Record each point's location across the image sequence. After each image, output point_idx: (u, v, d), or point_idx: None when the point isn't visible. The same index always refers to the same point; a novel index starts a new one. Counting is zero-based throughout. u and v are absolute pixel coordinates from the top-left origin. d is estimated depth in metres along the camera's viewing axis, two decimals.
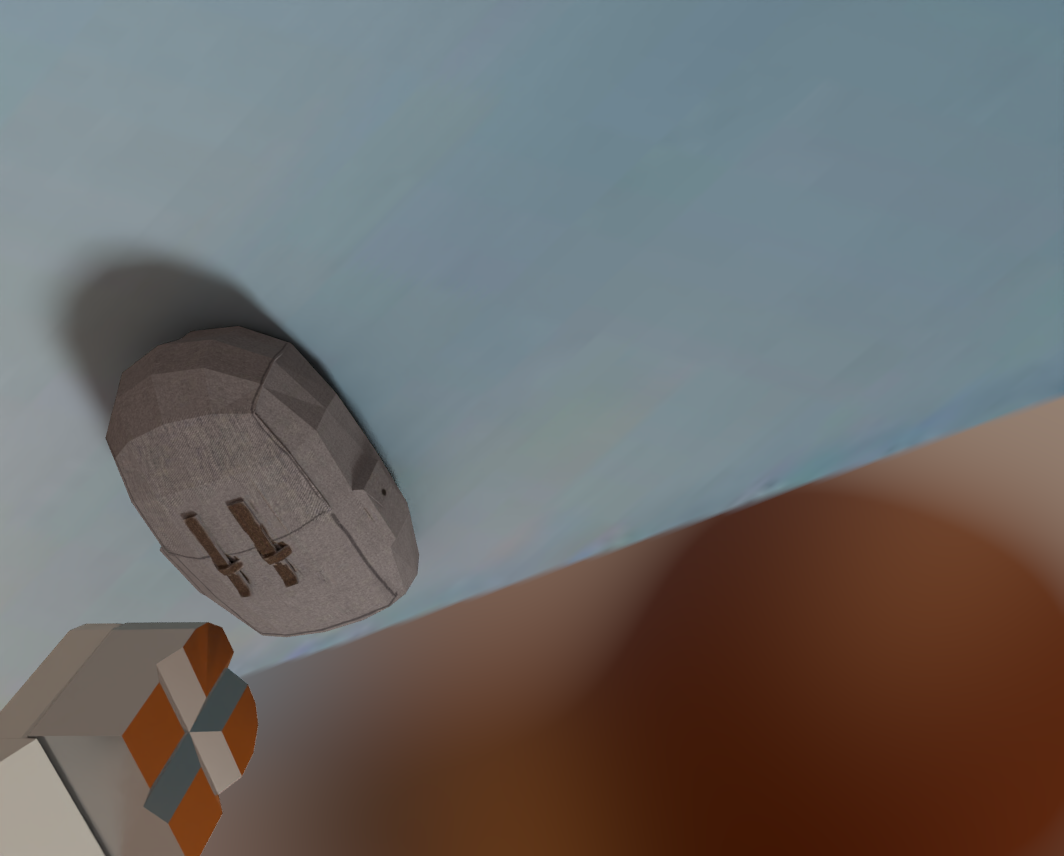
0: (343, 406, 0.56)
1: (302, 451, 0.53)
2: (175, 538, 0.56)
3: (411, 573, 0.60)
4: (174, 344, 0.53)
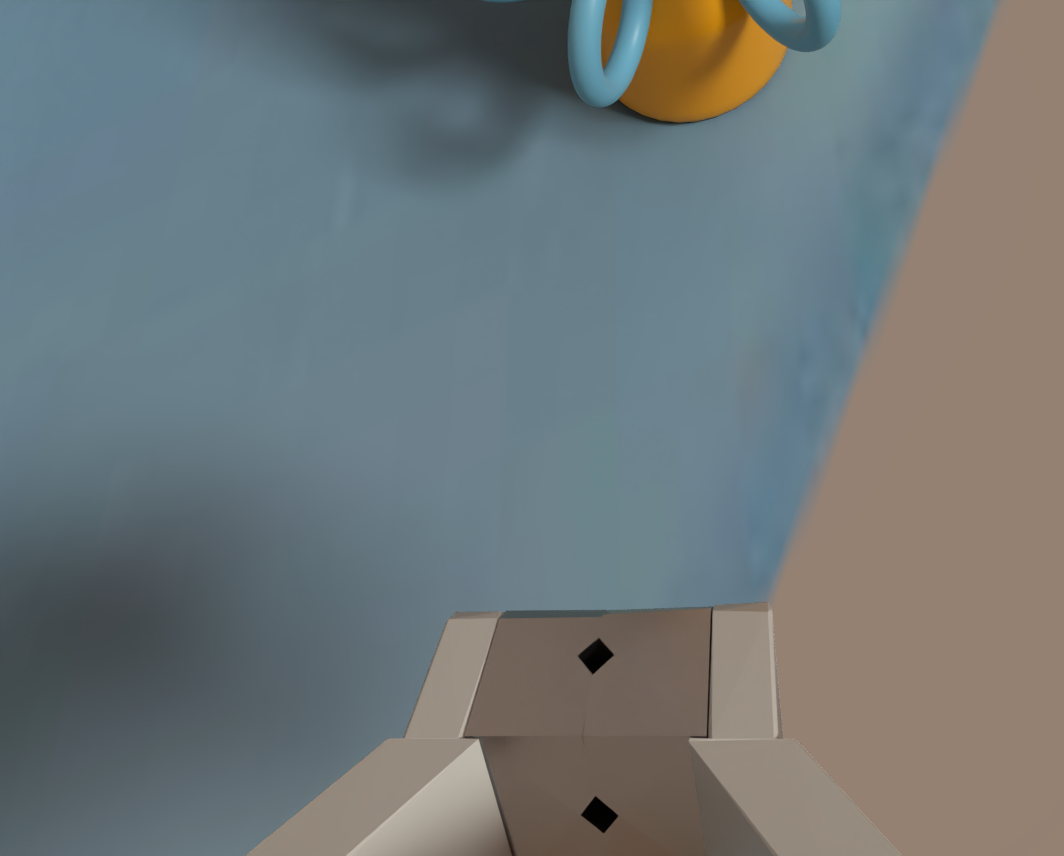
0: None
1: None
2: None
3: None
4: None
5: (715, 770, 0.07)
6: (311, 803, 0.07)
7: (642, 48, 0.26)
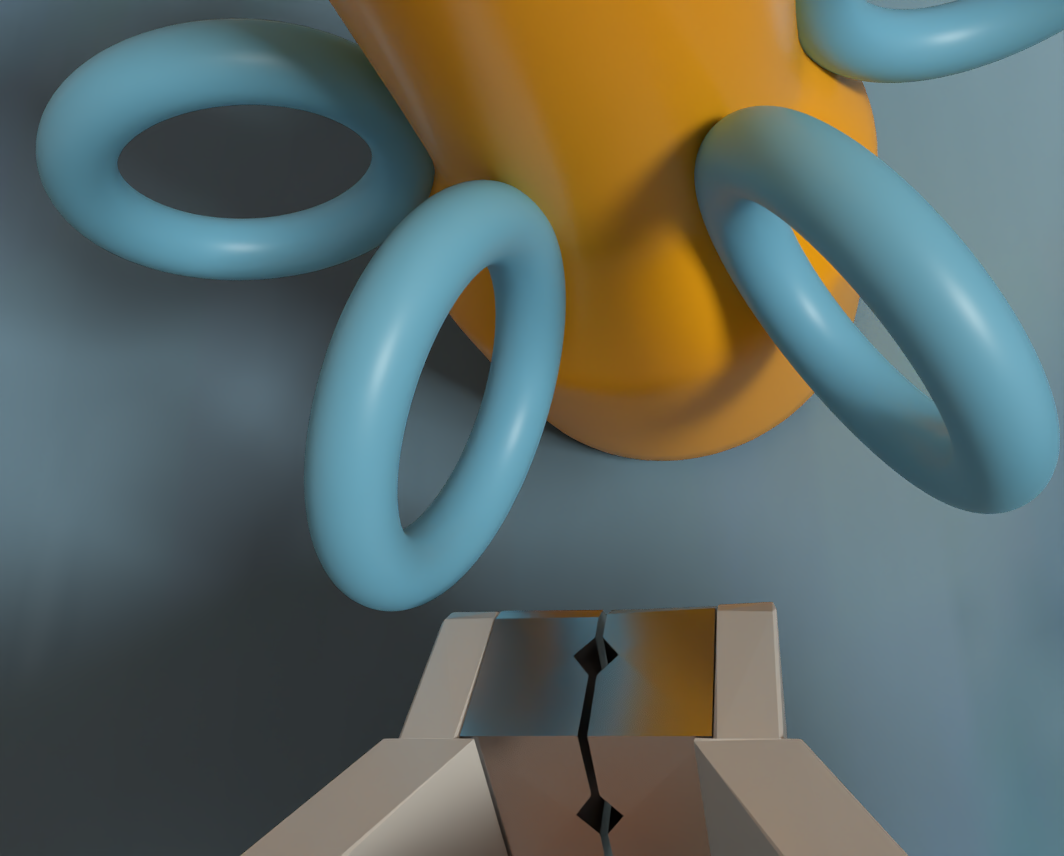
0: None
1: None
2: None
3: None
4: None
5: (720, 770, 0.07)
6: (306, 803, 0.07)
7: (542, 423, 0.11)
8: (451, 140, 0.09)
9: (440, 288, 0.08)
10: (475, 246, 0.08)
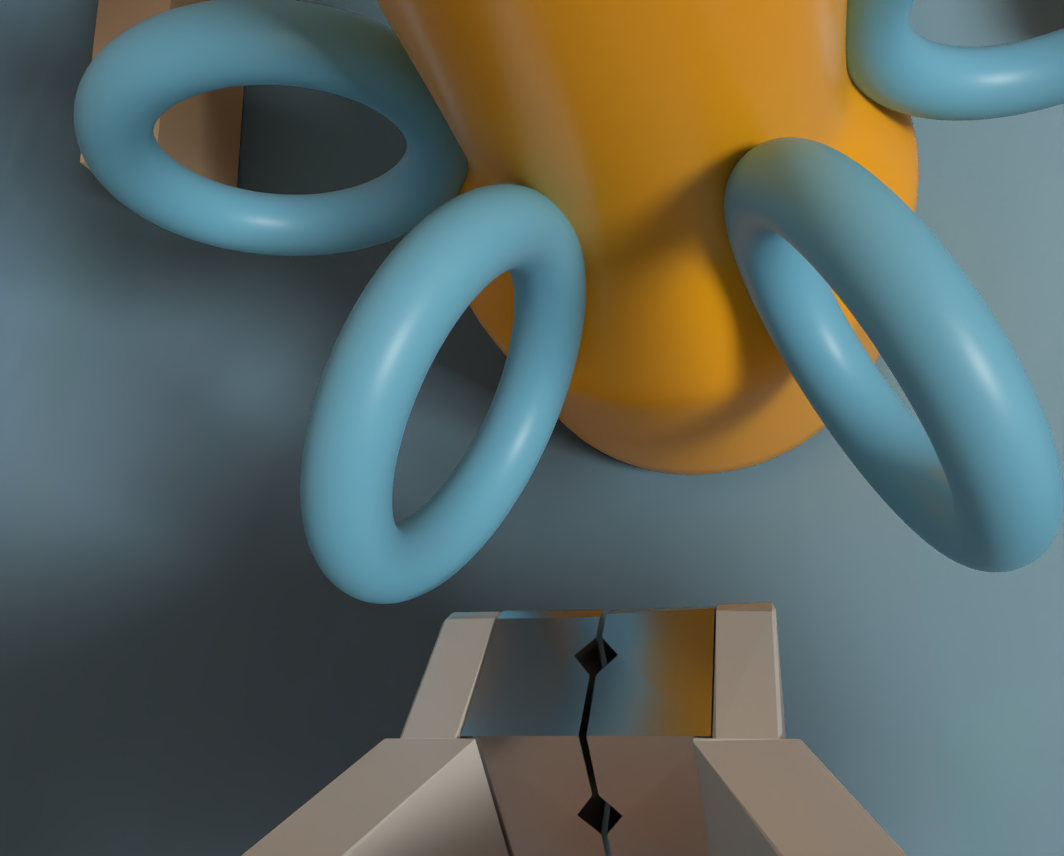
0: None
1: None
2: None
3: None
4: None
5: (719, 770, 0.07)
6: (307, 803, 0.07)
7: (550, 429, 0.11)
8: (482, 141, 0.09)
9: (453, 291, 0.08)
10: (493, 251, 0.08)
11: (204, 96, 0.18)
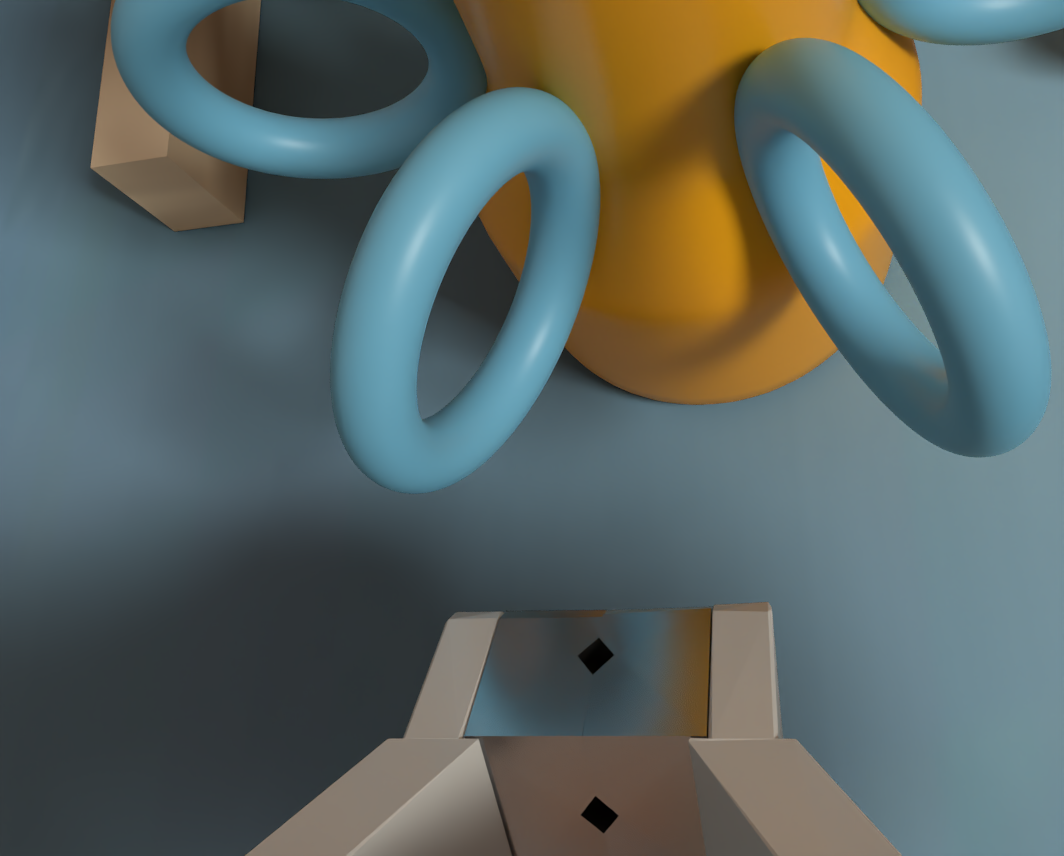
0: None
1: None
2: None
3: None
4: None
5: (715, 770, 0.07)
6: (311, 803, 0.07)
7: (564, 339, 0.12)
8: (504, 46, 0.09)
9: (478, 180, 0.08)
10: (515, 146, 0.09)
11: None
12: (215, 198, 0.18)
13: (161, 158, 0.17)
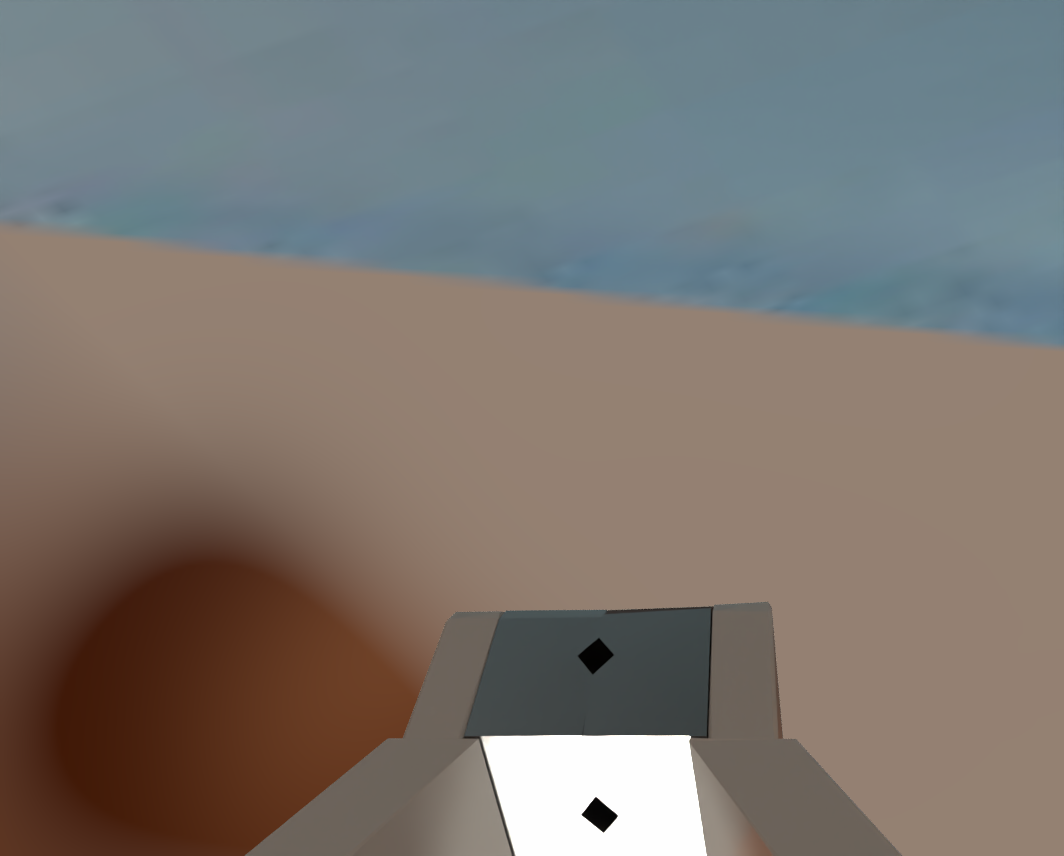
0: None
1: None
2: None
3: None
4: None
5: (715, 770, 0.07)
6: (311, 803, 0.07)
7: None
8: None
9: None
10: None
11: None
12: None
13: None
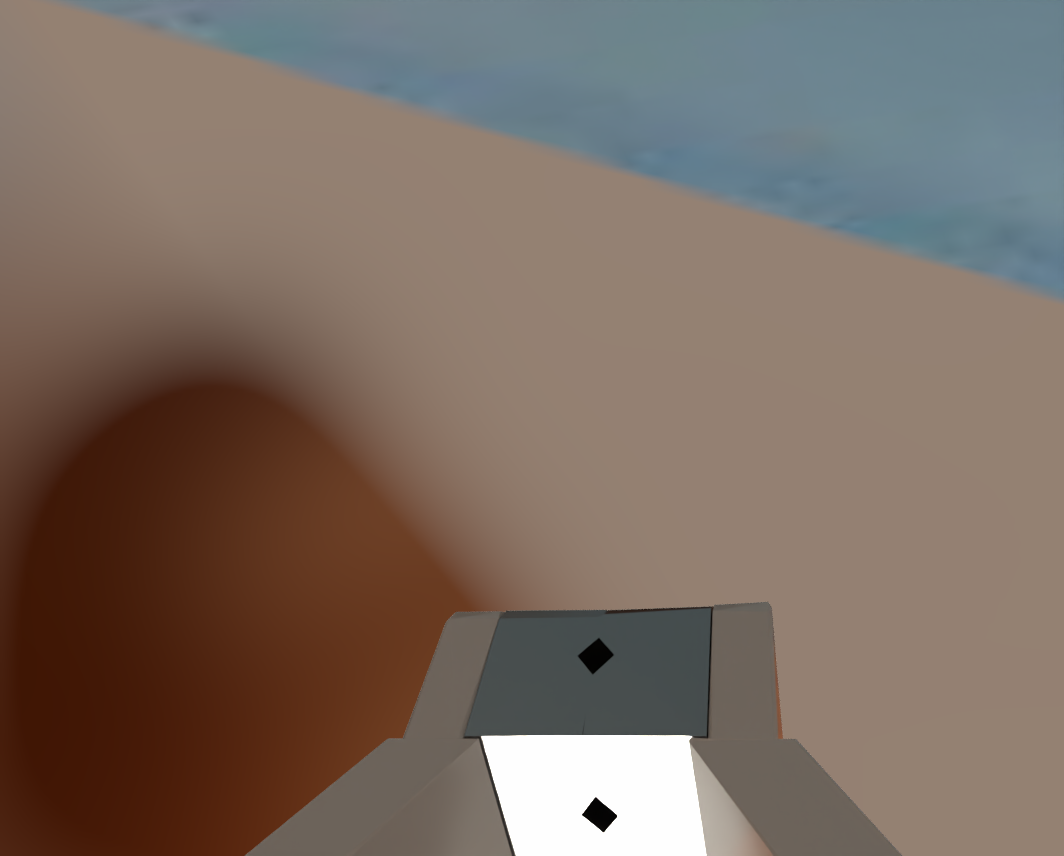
0: None
1: None
2: None
3: None
4: None
5: (715, 770, 0.07)
6: (311, 803, 0.07)
7: None
8: None
9: None
10: None
11: None
12: None
13: None
